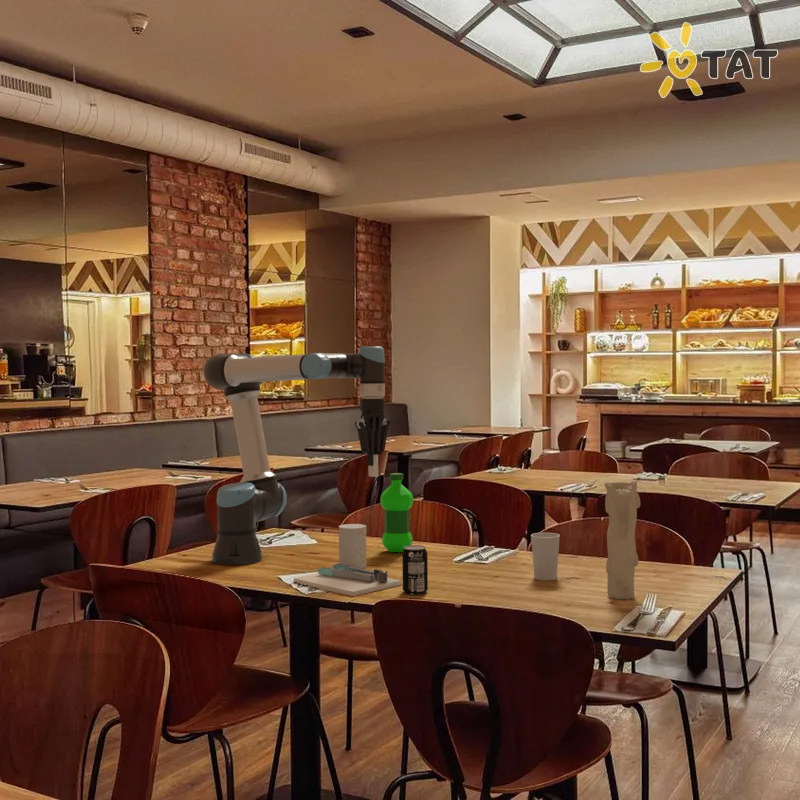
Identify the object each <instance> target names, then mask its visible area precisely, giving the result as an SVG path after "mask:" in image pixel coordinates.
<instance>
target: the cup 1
mask: <svg viewBox="0 0 800 800" xmlns="http://www.w3.org/2000/svg"><path fill="white" fill-rule="evenodd" d="M367 563H368V562H367V525H365V524H362V523H348V524H347V523H346V524H345V523H344V524H340V525H338V564H343V565H348V566H352V567H357V568H362V569H366V567H367Z"/></svg>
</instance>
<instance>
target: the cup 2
mask: <svg viewBox="0 0 800 800" xmlns="http://www.w3.org/2000/svg"><path fill="white" fill-rule="evenodd" d="M560 537H561V535H560V534H559V533H556V532H555V533H554V532H535V533H532V534H531V535H530V541H531V542H530V543H531V550H532V551H531V552H532V553H531V554H532V564H533V573H534V574H533V578H534V579H535V580H539V581H554V580H557V579H558V565H559V564H558V563H559V547H560V539H561V538H560Z"/></svg>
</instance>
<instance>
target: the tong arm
mask: <svg viewBox="0 0 800 800" xmlns="http://www.w3.org/2000/svg"><path fill="white" fill-rule="evenodd" d="M317 573H318V574H320V575H327V576H335V577H342V578H349V579H355V580H362V581H369V582H371V581H374V580H375V578H374V574H367V573H360V572H352V571H345V570H338V569H333V567H332V568H330V567H319V568H318V572H317Z"/></svg>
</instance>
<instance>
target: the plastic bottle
mask: <svg viewBox="0 0 800 800" xmlns="http://www.w3.org/2000/svg"><path fill="white" fill-rule="evenodd" d="M389 480H390V481H391V484H390V485H389V486H388V487H387V488H386V489H385V490H384V491H383V492H382V493H381V495H380V496H379V497H380V500H379V501H380V506H381V507H382V508H383V509H384V532H383V534H382V536H381V542H382V545H383V547H384V548H385V549H386V550H387V551H388V552H389V551H390V552H403V551H404V547H405V546H409V545H412V544H413V542H414V541H413V539H414V538H413V536H412V533H411V531H410V509H411V508H412V507H413V506H414V505H413V504H414V495H413V493H412V492H411V491H410V490H409V489H408V488H407V487H405V486H404V484H402V481H403V480H404V473H401V472H395V473H394V472H393V473H389ZM390 552H389V553H390Z"/></svg>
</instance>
